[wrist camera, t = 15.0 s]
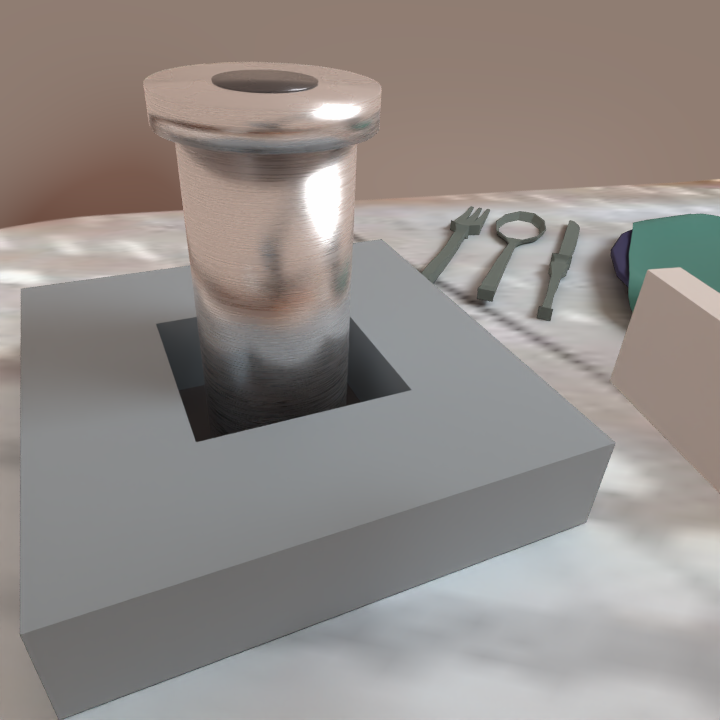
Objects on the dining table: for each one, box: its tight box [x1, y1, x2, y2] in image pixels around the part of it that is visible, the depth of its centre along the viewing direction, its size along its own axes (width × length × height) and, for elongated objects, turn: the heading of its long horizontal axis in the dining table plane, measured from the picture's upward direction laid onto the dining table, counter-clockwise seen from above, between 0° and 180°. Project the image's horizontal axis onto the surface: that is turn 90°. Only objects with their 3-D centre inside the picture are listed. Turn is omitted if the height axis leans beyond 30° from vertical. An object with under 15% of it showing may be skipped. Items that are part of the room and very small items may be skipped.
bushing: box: [143, 62, 382, 438], centre depth 20 cm, size 6×6×12 cm
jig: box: [20, 239, 615, 720], centre depth 22 cm, size 16×16×4 cm
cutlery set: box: [421, 207, 720, 321], centre depth 35 cm, size 20×30×2 cm, turn 68°
